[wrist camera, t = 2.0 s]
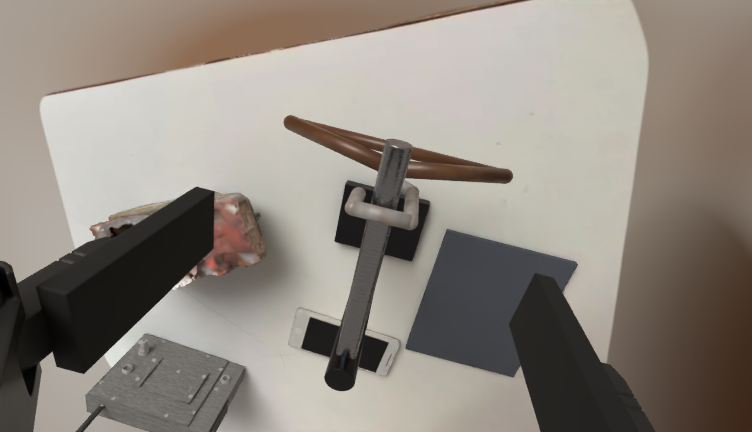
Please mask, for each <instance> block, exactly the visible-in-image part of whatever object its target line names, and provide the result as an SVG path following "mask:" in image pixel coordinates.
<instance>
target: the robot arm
mask: <svg viewBox="0 0 752 432" xmlns="http://www.w3.org/2000/svg"><path fill="white" fill-rule="evenodd" d="M214 200H215V191H211V190H207V189H203V188H199V187H195V188H193V189H192V190H190V191H188V192H187V193H185V194H184V195H182V196H180V197H179V198H177V199H176V200H174V201H172V202H171V203H169V204H168V205H166V206H164V207H163V208H161V209H160V210H158V211H156V212H155V213H153V214H151V215H150V216H148V217H147V218H145V219H143V220H142V221H140V222H139V223H137V224H135V225H134V226H132V227H131V228H129V229H127V230H126V231H124V232H123V233H121V234H119V235H118V236H116V237H114V238H112V237H108V236H106V237H103V238H99V239H96V240H93V241H90V242H87V243H85V244H84V245H82V246H80V247H79V248H77V249H75V250H74V251H72V253H71V254H70V253H69V254H67V255H65V256H63V257H62V258H60V259H59V261H55V262H53V263H51V264H50V265H48V266H47V267H45V268H43V269H41V270H39V271H38V272H36V273H34V274H33V275H31V276H29V277H27V278H26V279H24V280H22V281H21V282H19V283H16V279H15V276H14V272H13V269H12V266H11V265H9V264H8V263H6V262H4V261H0V432H33V429H34V421H35V414H36V407H37V400H38V393H39V386H40V378H41V372H42V370H41V366H40V361H41V360H42V359H44V358H45V357H46V356H47V355H49V354H50V353H51V352H52V351H53V355H54V359H55V362H56V366H57V367H60V368H63V369H67V370H71V371H75V372H78V373H83V374H84V373H85V372H86V371H87V370H88V369H90V368H91V367H92V366H93V365H94V364H95V363H96V362H97V361H98V360H99V359H100V358H101V357H102V356H103V355H104V354H105V353H106V352H107V351H108V350H109V349H110V348H111V347H112V346H113V345H114V344H115V343H116V342H117V341H119V340H120V339H121V338H122V337H123V336H124V335H125V334H126V333H127V332H128V331H129V330H130V329H131V328H132V327H133V326H134V325H135V324H136V323H137V322H138V321H139V320H140V319H141V318H142V317H143V316H144V315H145V314H146V313H148V312H149V311H150V310H151V309H152V308H153V307H154V306H155V305H156V304H157V303H158V302H159V301H160V300H161V299H162V298H163V297H164V296H165V295H166V294H167V293H168V292H169V291H170V290H171V289H172V288H173V287H174V286H175V285H177V284H178V283H179V282H180V281H181V280H182V279H183V278H184V277H185V276H186V275H187V274H188V273H189V272H190V271H191V270H192V269H193V268H194V267H195V266H196V265H197V264H198V263H199V262H200V261H201V260H202V259H203V258H204V257H206V256H207V255H208V254H209V253H210V252H211V251H212V250H213V249H214ZM509 327H510V331H511V334H512V337H513V341H514V344H515V347H516V351H517V354H518V357H519V361H520V364H521V367H522V371H523V374H524V377H525V381H526V384H527V388H528V391H529V394H530V398H531V401H532V404H533V408H534V411H535V414H536V418H537V421H538V424H539V428H540V431H541V432H655V430H654V428H653V427H652V425H651V423H650V422H649V420H648V418H647V417H646V415H645V413H644V412H643V411H641V406H640V405H639V403H638V401H637V400H636V398H634V395H633V393H632V391H631V390H630V388H629V386H628V385H627V383H626V381H625V380H624V379H623V378H622V377H621V375H619V374H618V372H617V371H616V370H615V369H614V368H613V367H612V366H611V365H609V364H606V363H602V362H600V360H599V358H598V356H597V355H596V353H595V351H594V349H593V347H592V346H591V344H590V342H589V340H588V338H587V337H586V335H585V333H584V331H583V329H582V327H581V326H580V324H579V322H578V320H577V318H576V317H575V315H574V313H573V311H572V309H571V308H570V306H569V304H568V302H567V300H566V299H565V297H564V295H563V293H562V291H561V289H560V288H559V286H558V284H557V282H556V280H555V279H554V278H553V277H550V276H546V275H542V274H538V273H535V274H534V276H533V278H532V280H531V282H530V284H529V286H528V287H527V289H526V291H525V293H524V295H523V297H522V299H521V301H520V303H519V305H518V307H517V309H516V311H515V313H514V315H513V317H512V319H511V321H510V323H509Z"/></svg>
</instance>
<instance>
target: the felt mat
mask: <svg viewBox="0 0 752 432" xmlns="http://www.w3.org/2000/svg"><path fill="white" fill-rule="evenodd" d="M577 265H578V264H577V263H576V262H574V261H570V260H566V259H562V258H558V257H554V256H550V255H546V254H542V253H538V252H535V251H531V250H527V249H523V248H519V247H515V246H511V245H507V244H503V243H499V242H495V241H491V240H487V239H484V238H480V237H476V236H472V235H468V234H464V233H460V232H456V231H452V230H448V229H447V231H446V233H445V236H444V239H443V242H442V245H441V248H440V250H439V253H438V256H437V259H436V262H435V265H434V267H433V270H432V273H431V276H430V279H429V281H428V284H427V287H426V290H425V293H424V296H423V298H422V301H421V304H420V307H419V310H418V313H417V315H416V318H415V321H414V324H413V327H412V330H411V332H410V335H409V338H408V341H407V344H406V349H408V350H412V351H416V352H419V353H423V354H427V355H431V356H435V357H439V358H442V359H446V360H450V361H454V362H458V363H461V364H465V365H469V366H473V367H477V368H481V369H484V370H488V371H492V372H496V373H500V374H503V375H507V376H511V377H514V375H515V374H516V372H517V370H518V368H519V367H520V365H521V364H520V361H519V357H518V354H517V351H516V347H515V344H514V341H513V337H512V334H511V331H510V327H509V323H510V321H511V319H512V317H513V315H514V313H515V311H516V309H517V307H518V305H519V303H520V301H521V299H522V297H523V295H524V293H525V291H526V289H527V287H528V286H529V284H530V282H531V280H532V278H533V276H534V274H535V273H538V274H542V275H546V276H550V277H553V278H554V279H555V280H556V282H557V284H558V286H559V288H560V289H561V291H562V292H563V290H564V288H565V286H566V285H567V283H568V281H569V279H570V278H571V276H572V274H573V272H574V271H575V269H576V267H577Z"/></svg>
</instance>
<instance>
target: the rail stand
mask: <svg viewBox="0 0 752 432" xmlns="http://www.w3.org/2000/svg"><path fill="white" fill-rule="evenodd" d="M412 150H413V146H412V145H411V144H409V143H407V142H405V141H402V140H397V139H387V140H386V141H385V145H384V149H383V154H382V158H381V162H380V166H379V171H378V175H377V179H376V184H375V187H372V186H368V185H364V184H360V183H356V182H352V181H347V182H346V184H345V189H344V195H343V200H342V205H341V210H340V215H339V220H338V226H337V231H336V236H335V242H338V243H342V244H346V245H350V246H354V247H358V248H360V252H359V256H358V261H357V265H356V269H355V273H354V278H353V282H352V286H351V290H350V295H349V298H348V302H347V305H346V308H345V311H344V315H343V318H342V321H341V324H340V328H339V331H338V334H337V337H336V341H335V344H334V347H333V350H332V354H331V357H330V360H329V363H328V367H327V370H326V373H325V377H324V378H325V382H326V384H327V385H328V386H329V387H331V388H332V389H334V390H337V391H347V390H350V389H351V388H352V387H353V386H354V384H355V380H356V375H357V370H358V366H359V361H360V356H361V352H362V347H363V342H364V337H365V333H366V328H367V323H368V319H369V314H370V309H371V304H372V300H373V295H374V290H375V286H376V283H377V279H378V275H379V271H380V268H381V264H382V260H383V257H384V254H385V255H389V256H393V257H397V258H400V259H404V260H408V261H412V260H413V256H414V253H415V250H416V247H417V244H418V241H419V238H420V234H421V231H422V228H423V225H424V222H425V219H426V215H427V212H428V209H429V206H430V201H427V200H423V199H419V211H418V225H417V227H416V228H415V229H413V230H407V229H403V228H399V227H395V226H391V225H387V224H383V223H379V222H375V221H371V220H367V219H363V218H359V217H355V216H351V215H349V214H347V213H346V211H345V204H346V202H347V200H348V198H349V196H350V194H351V192H352V190H353V189H354V188H356V187H361V188H363V189H364V190H365V193H366V196H365V199H364V203H368V204H372V205H376V206H380V207H384V208H388V209H392V210H396V211H400V212H403V211H404V203H405V195H403V194H401V191H402V187H403V183H404V180H405V176H406V172H407V168H408V165H409V161H410V157H411V154H412Z"/></svg>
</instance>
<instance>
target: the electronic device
mask: <svg viewBox="0 0 752 432" xmlns="http://www.w3.org/2000/svg"><path fill="white" fill-rule="evenodd" d="M244 370H245V366H242V365H238V364H235V363H232V362H229V361H227V360H224V359H221V358H218V357H215V356H212V355H209V354H206V353H203V352H200V351H197V350H194V349H191V348H188V347H185V346H182V345H179V344H176V343H173V342H170V341H167V340H164V339H161V338H158V337H155V336H152V335H148V334H144V336H143V337H142V338H141V339H140V340H139V341H138V342H137V343H136V344H135V345H134V346H133V347H132V348H131V349H130V350H129V351H128V352H127V353H126V354H125V355H124V356H123V357H122V358H121V359H120V360H119V361H118V362H117V363H116V364H115V365H114V366H113V367H112V368H111V370H110V371H109V372H108V373H107V374H106V375H105V376H104V377H103V378H102V379H101V380H100V381H99V382H98V383H97V384H96V385H95V386H94V387H93V388H92V389H91V390H90V391H89V392H88V393H87V394H86V405H87V412H90V413H92V414H91V415H90V416H89V418H88V419H87V420H86V421H85V422H84V423H83V424H82V425H81V426H80V428H79V429H78V430H77V431H76V432H83V431H84V430H85V429H86V428H87V427H88V425H89V424H90V423H91V422H92V420H94V418H95V417H96V416H97V415H99V416H102V417H105V418H108V419H112V420H115V421H118V422H121V423H124V424H127V425H130V426H133V427H136V428H139V429H142V430H145V431H149V432H216V431H217V429H218V427H219V425H220V424H221V422H222V420H223V418H224V416H225V414H226V413H227V409H228V406H229V404H230V402H231V400H232V399H233V397H234V395H235V393H236V391H237V389H238V388H239V386H240V384H241V382H242V379H243V374H244Z"/></svg>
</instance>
